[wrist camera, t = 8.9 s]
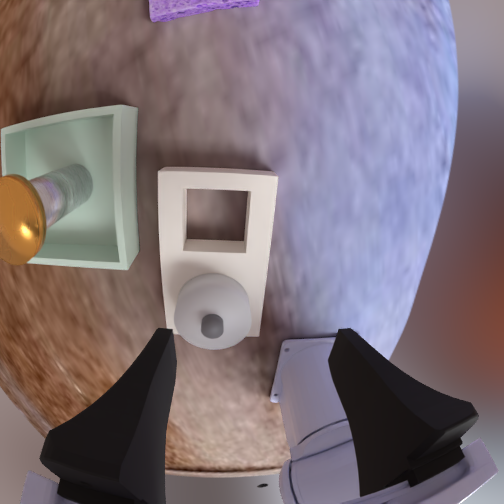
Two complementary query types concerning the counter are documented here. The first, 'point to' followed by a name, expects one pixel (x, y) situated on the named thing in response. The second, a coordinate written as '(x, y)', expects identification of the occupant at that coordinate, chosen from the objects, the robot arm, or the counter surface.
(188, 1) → the sponges
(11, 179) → the pin
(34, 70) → the counter surface
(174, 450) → the counter surface
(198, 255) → the block
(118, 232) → the tray
